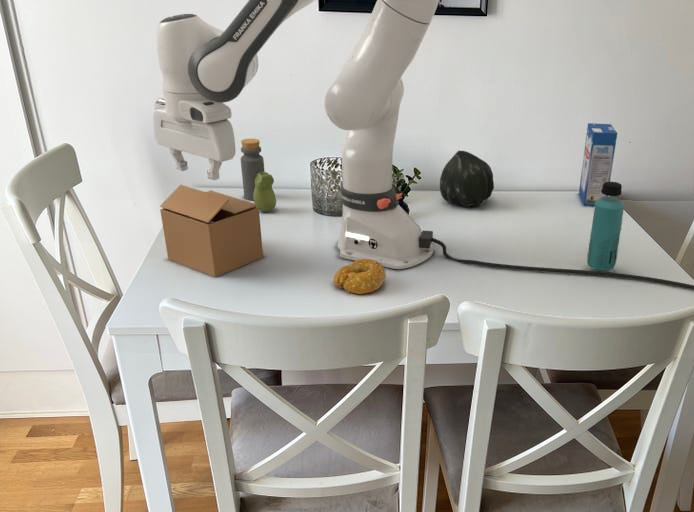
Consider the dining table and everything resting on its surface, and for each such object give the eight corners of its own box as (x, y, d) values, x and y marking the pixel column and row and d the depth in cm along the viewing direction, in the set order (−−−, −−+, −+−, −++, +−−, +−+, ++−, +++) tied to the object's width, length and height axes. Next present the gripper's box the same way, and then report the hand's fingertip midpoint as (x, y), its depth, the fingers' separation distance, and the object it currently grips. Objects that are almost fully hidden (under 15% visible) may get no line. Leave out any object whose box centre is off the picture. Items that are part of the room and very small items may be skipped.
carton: (263, 256, 166) (258, 204, 160) (215, 277, 156) (207, 222, 150) (217, 241, 173) (210, 190, 167) (168, 259, 163) (159, 206, 157)
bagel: (336, 274, 160) (335, 253, 157) (388, 277, 160) (388, 256, 157) (329, 294, 151) (328, 272, 149) (383, 297, 151) (383, 275, 149)
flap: (229, 200, 153) (228, 199, 153) (208, 222, 150) (207, 221, 150) (181, 185, 159) (180, 184, 159) (160, 207, 157) (159, 206, 157)
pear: (267, 206, 195) (264, 168, 190) (281, 210, 192) (278, 172, 187) (250, 211, 191) (246, 172, 186) (265, 216, 188) (261, 177, 183)
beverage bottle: (608, 279, 163) (622, 190, 153) (580, 272, 166) (592, 183, 156) (618, 269, 168) (633, 182, 158) (591, 262, 171) (604, 176, 160)
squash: (507, 178, 205) (474, 134, 201) (498, 197, 193) (462, 150, 188) (468, 207, 212) (435, 164, 208) (457, 226, 200) (421, 182, 195)
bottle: (261, 201, 197) (256, 144, 190) (240, 199, 198) (234, 142, 191) (270, 194, 202) (265, 138, 195) (249, 192, 203) (244, 136, 196)
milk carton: (606, 207, 205) (617, 133, 194) (583, 206, 205) (593, 132, 194) (600, 195, 213) (610, 124, 203) (578, 194, 213) (587, 123, 203)
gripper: (140, 99, 149) (151, 167, 156) (211, 116, 139) (220, 188, 146) (166, 94, 153) (176, 161, 160) (237, 110, 144) (244, 180, 151)
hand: (197, 174), depth 153 cm, fingers open, 8 cm apart
